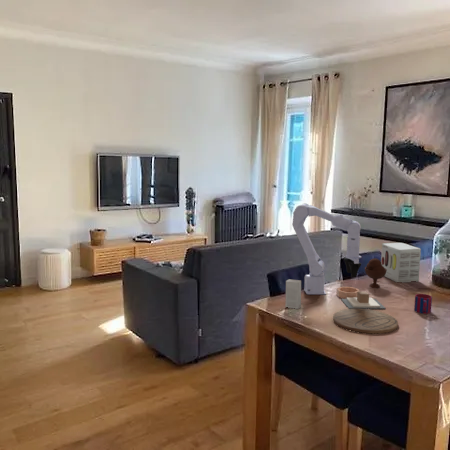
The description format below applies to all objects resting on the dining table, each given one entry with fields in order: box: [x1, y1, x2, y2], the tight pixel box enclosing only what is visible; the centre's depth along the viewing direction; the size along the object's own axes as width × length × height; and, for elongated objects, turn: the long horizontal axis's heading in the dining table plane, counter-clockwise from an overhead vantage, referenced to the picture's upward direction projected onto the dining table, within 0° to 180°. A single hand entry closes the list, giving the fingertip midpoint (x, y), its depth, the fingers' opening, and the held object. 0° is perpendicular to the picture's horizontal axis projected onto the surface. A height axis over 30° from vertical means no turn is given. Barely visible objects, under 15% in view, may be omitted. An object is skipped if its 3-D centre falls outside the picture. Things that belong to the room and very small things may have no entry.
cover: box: [346, 291, 380, 307], centre depth 209 cm, size 12×12×5 cm
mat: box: [340, 298, 386, 310], centre depth 209 cm, size 16×13×1 cm
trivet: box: [332, 308, 399, 335], centre depth 187 cm, size 25×25×2 cm
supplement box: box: [380, 242, 422, 283], centre depth 253 cm, size 17×13×18 cm
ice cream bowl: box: [364, 258, 387, 289], centre depth 236 cm, size 11×11×15 cm
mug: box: [413, 293, 433, 315], centre depth 198 cm, size 7×10×7 cm
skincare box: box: [285, 278, 302, 310], centre depth 204 cm, size 6×4×12 cm
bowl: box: [336, 286, 361, 299], centre depth 222 cm, size 10×10×3 cm
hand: (351, 275), depth 220 cm, fingers open, 7 cm apart
